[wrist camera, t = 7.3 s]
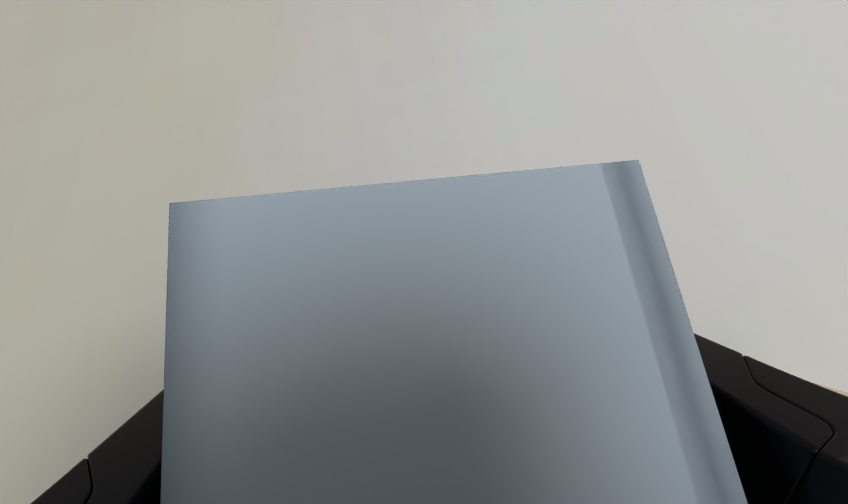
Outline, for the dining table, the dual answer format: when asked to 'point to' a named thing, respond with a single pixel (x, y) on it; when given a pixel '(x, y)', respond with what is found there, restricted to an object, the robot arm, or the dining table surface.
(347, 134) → the dining table surface
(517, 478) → the blue-grey open box
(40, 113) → the dining table surface
